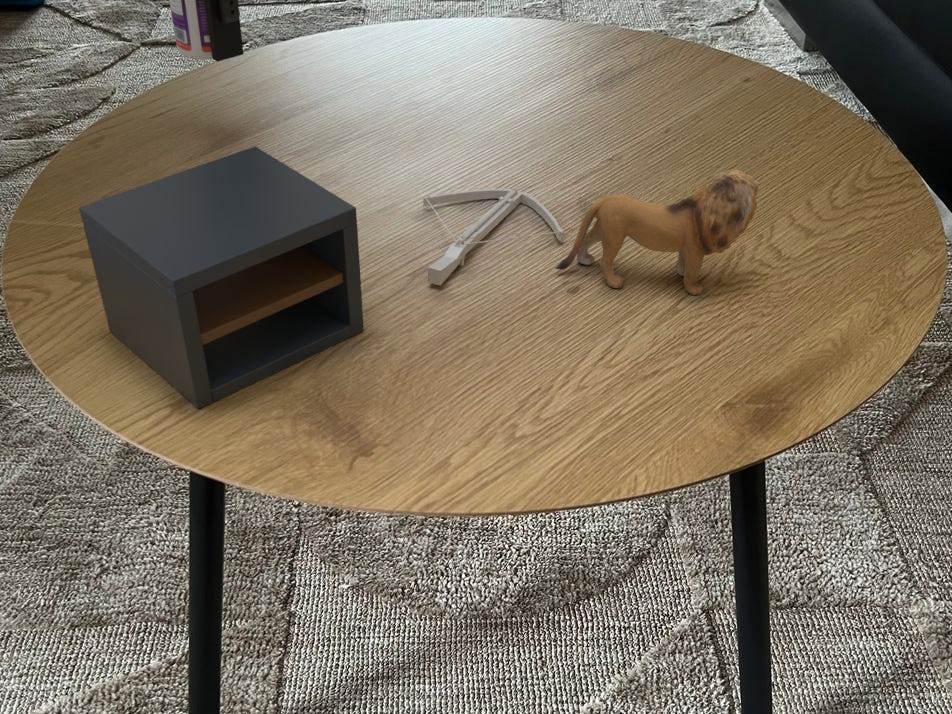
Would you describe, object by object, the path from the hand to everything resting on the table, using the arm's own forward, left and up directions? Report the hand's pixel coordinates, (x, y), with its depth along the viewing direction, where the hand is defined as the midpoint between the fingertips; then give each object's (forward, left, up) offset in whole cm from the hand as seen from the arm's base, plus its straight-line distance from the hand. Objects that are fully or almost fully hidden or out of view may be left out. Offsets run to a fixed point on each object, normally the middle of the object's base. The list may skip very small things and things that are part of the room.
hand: (209, 45), depth 98 cm
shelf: (+28, -17, -8) cm, 34 cm away
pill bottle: (0, 0, -1) cm, 1 cm away
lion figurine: (+43, +12, -9) cm, 46 cm away
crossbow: (+30, +5, -9) cm, 32 cm away
